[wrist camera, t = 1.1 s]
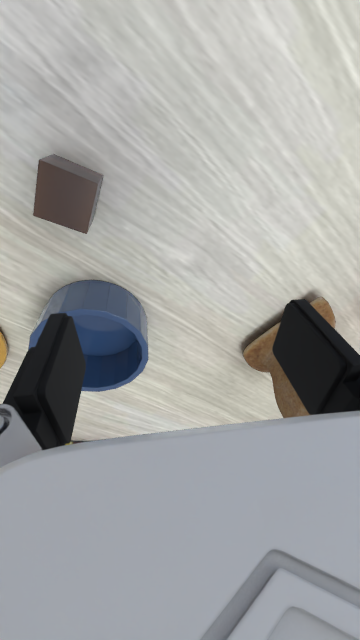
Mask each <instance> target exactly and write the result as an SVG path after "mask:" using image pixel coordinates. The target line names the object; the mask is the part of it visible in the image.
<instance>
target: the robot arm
mask: <svg viewBox="0 0 360 640" xmlns="http://www.w3.org/2000/svg"><path fill="white" fill-rule="evenodd" d="M272 351H273V354H274V356H275V358H276V359H277V361H278V363H279V364H280V366H281V368H282V369H283V371H284V373H285V375H286V376H287V378H288V380H289V381H290V383H291V385H292V386H293V388H294V390H295V391H296V393H297V395H298V396H299V398H300V400H301V402H302V403H303V405H304V407H305V408H306V410H307V412H308V413H309V414H310V415H309V416H299V417H290V418H281V419H272V420H263V421H254V422H245V423H236V424H228V425H219V426H210V427H202V428H193V429H184V430H176V431H168V432H159V433H151V434H143V435H134V436H126V437H118V438H111V439H104V440H96V441H89V442H82V443H76V444H70V445H65V444H69V443H70V441H71V437H72V432H73V427H74V423H75V418H76V413H77V408H78V403H79V399H80V394H81V389H82V384H83V380H84V375H85V370H86V363H85V359H84V355H83V352H82V348H81V345H80V341H79V338H78V335H77V331H76V328H75V324H74V321H73V318H72V316H68V315H67V314H66V313H54V314H50V316H49V318H48V320H47V322H46V324H45V326H44V329H43V331H42V333H41V335H40V337H39V340H38V342H37V344H36V346H35V347H31V348H30V349H29V350H28V352H27V354H26V356H25V358H24V360H23V362H22V364H21V366H20V368H19V371H18V373H17V375H16V377H15V379H14V381H13V383H12V385H11V387H10V389H9V391H8V393H7V396H6V398H5V400H4V402H3V404H0V640H360V355H359V354H358V353H357V352H356V351H355V350H354V349H353V348H352V347H351V346H350V345H349V344H348V343H347V342H346V341H345V340H344V339H343V337H342V336H341V335H340V334H339V333H338V332H337V331H336V330H335V329H334V328H333V327H332V326H331V325H330V324H329V323H328V322H327V321H326V320H325V319H324V318H323V317H322V316H321V315H320V314H319V313H318V312H317V310H316V309H315V308H314V307H313V306H312V305H311V304H310V303H309V302H308V301H307V300H305V299H300V300H291V301H290V303H288V304H287V305H286V307H285V310H284V313H283V316H282V319H281V322H280V325H279V328H278V332H277V335H276V338H275V341H274V344H273V347H272Z"/></svg>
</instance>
